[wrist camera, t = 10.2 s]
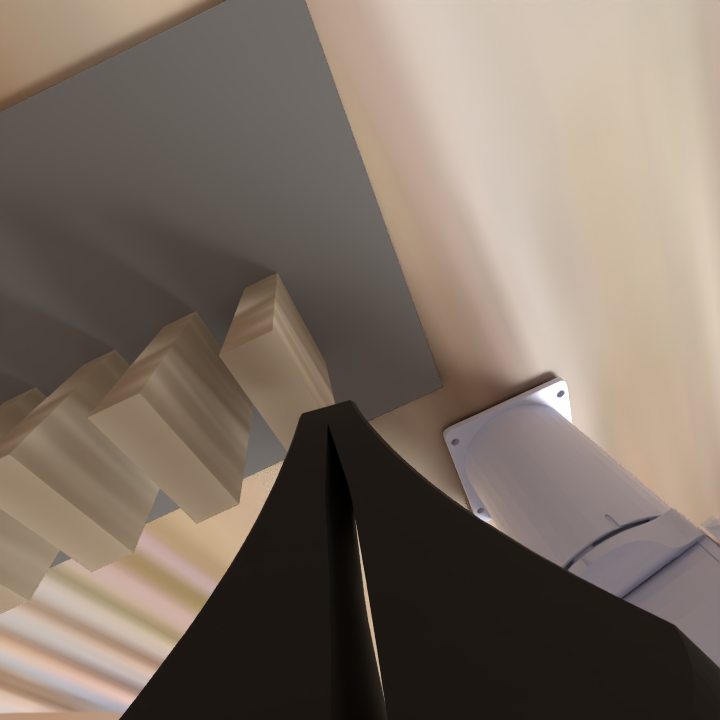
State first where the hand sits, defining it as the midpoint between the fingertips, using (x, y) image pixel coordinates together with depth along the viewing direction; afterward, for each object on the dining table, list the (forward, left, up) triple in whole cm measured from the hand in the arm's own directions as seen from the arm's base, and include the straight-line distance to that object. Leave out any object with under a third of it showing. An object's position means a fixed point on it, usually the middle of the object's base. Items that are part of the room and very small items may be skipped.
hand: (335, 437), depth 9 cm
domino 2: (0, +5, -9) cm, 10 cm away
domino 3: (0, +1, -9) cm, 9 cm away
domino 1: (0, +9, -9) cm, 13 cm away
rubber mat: (+2, +9, -9) cm, 13 cm away
